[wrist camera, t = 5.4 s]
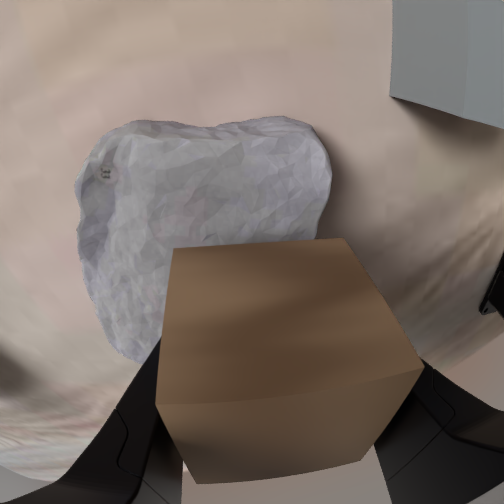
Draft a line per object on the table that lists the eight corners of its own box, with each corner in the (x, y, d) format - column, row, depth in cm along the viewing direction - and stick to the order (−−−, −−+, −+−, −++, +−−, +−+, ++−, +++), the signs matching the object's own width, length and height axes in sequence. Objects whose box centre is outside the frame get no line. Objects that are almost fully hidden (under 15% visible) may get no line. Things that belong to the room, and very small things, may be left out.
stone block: (127, 308, 19) (288, 330, 19) (96, 364, 15) (289, 396, 14) (107, 109, 13) (325, 119, 13) (46, 125, 9) (347, 136, 9)
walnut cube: (343, 237, 9) (424, 367, 5) (321, 348, 12) (360, 460, 8) (173, 248, 9) (155, 404, 5) (193, 360, 12) (196, 484, 7)
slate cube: (470, 24, 10) (544, 30, 6) (465, 111, 13) (536, 140, 8) (391, -6, 9) (465, -21, 5) (388, 95, 12) (462, 117, 8)
